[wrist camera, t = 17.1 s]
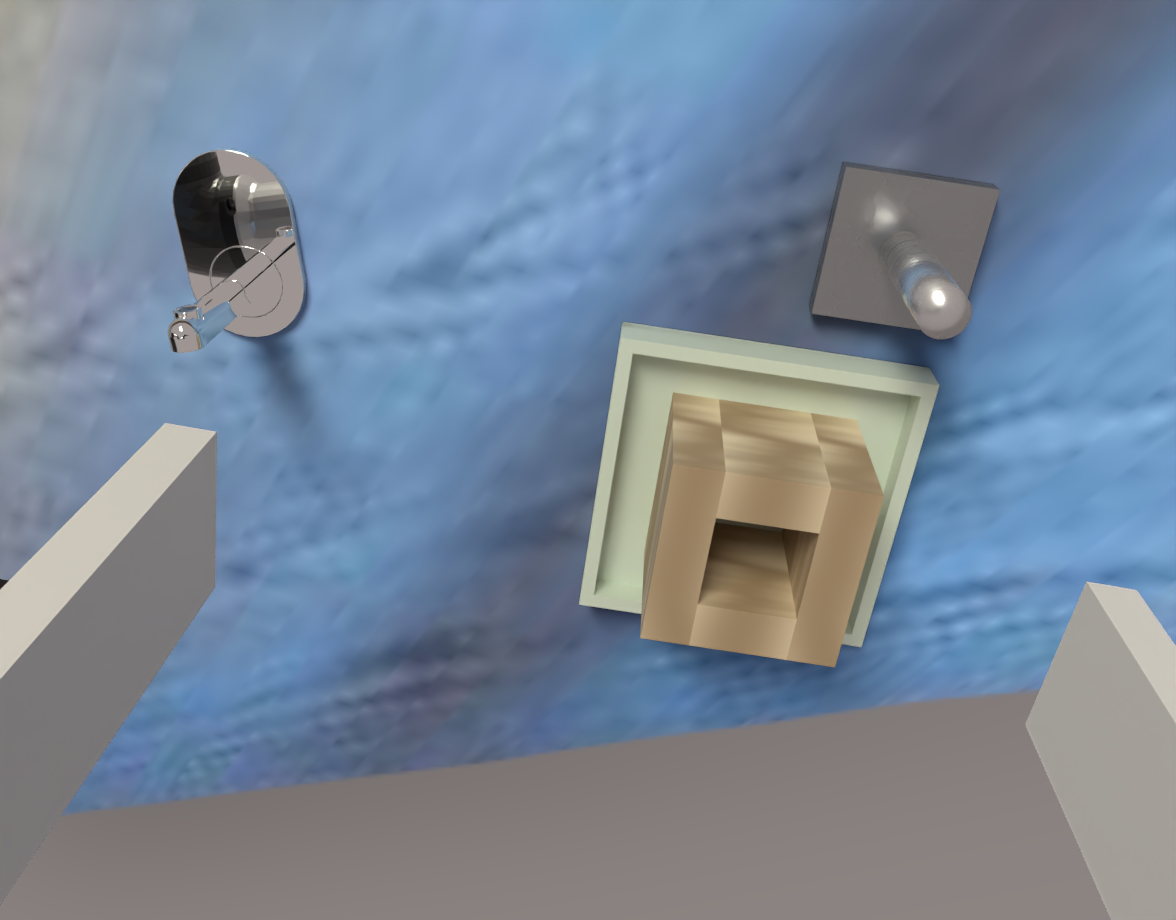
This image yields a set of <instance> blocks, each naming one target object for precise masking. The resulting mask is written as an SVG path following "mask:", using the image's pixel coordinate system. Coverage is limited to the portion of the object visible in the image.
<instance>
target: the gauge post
mask: <svg viewBox="0 0 1176 920" xmlns="http://www.w3.org/2000/svg"><path fill="white" fill-rule="evenodd" d="M999 192H1000V189H999V188H997V187H996V186H995V185H994V184H989V183H982V182H975V181H969V180H962V179H955V178H949V177H942V176H935V175H929V174H922V173H915V172H909V171H902V170H895V169H889V168H882V167H875V166H869V165H862V164H855V163H849V162H842V166H841V171H840V175H839V179H838V184H837V188H836V192H835V196H834V201H833V205H832V209H831V214H830V218H829V222H828V227H827V231H826V235H825V239H824V244H823V248H822V252H821V257H820V261H819V265H818V269H817V274H816V278H815V282H814V287H813V291H812V295H811V300H810V304H809V307H810V310H811V313H812V314H818V315H824V316H831V317H838V318H844V319H851V320H858V321H864V322H871V323H878V324H884V325H891V326H898V327H904V328H911V329H917V330H922V332H923V333H924V334H926V335H927V336H929V337H931V338H934V339H948V338H952V337H954V336H956V335H958V334H959V333H961V332H962V331H963V330H964V329H965V328H966V326H967V325H968V323H969V321H970V319H971V314H972V308H971V304H970V301H969V300H968V295H969V292H970V289H971V285H972V282H973V279H974V275H975V272H976V269H977V265H978V262H979V259H980V255H981V252H982V249H983V245H984V242H985V239H986V235H987V232H988V229H989V225H990V222H991V219H992V215H993V212H994V208H995V205H996V202H997V198H998V195H999Z"/></svg>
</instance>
